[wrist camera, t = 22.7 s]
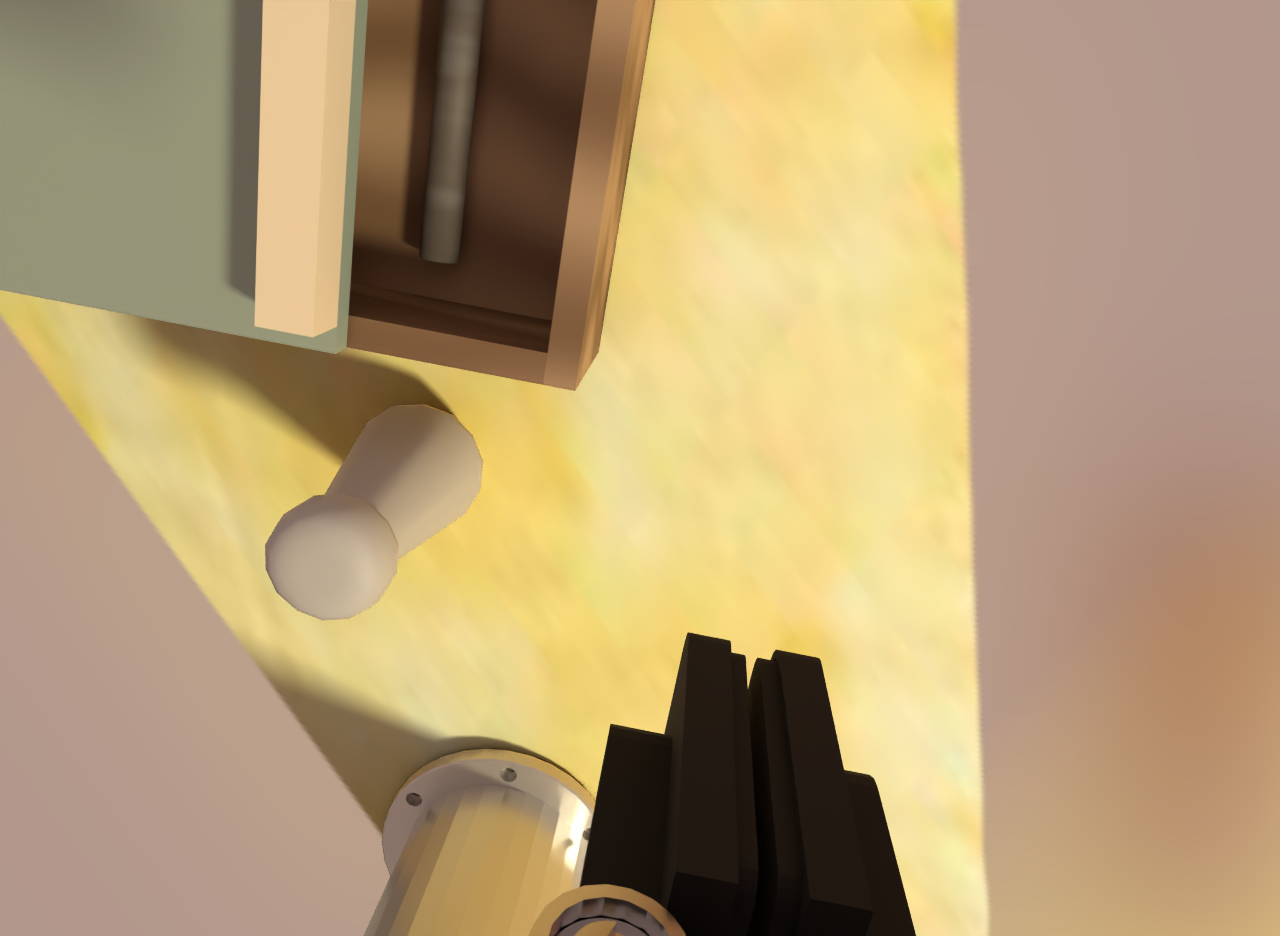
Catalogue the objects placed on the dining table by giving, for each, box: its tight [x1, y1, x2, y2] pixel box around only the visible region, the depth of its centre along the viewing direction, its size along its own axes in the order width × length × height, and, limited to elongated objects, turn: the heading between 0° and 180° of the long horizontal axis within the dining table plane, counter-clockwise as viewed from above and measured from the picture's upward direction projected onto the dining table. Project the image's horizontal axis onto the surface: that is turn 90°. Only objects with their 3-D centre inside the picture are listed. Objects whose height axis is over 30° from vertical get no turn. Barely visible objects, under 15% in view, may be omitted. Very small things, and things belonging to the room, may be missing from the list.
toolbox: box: [346, 0, 655, 391], centre depth 33 cm, size 20×14×7 cm
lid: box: [0, 0, 368, 354], centre depth 28 cm, size 20×14×3 cm
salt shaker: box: [265, 404, 483, 620], centre depth 35 cm, size 6×6×13 cm
